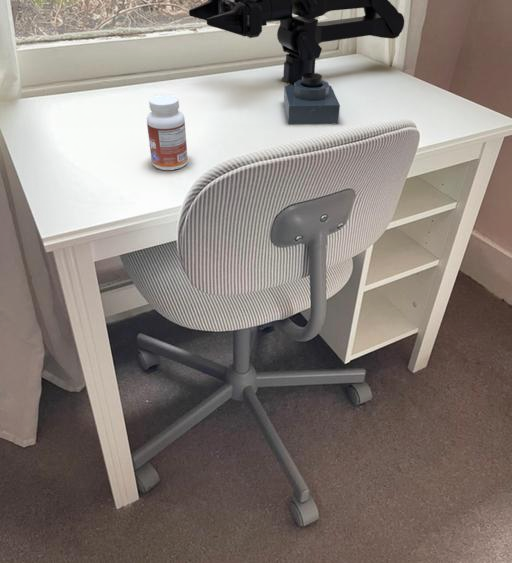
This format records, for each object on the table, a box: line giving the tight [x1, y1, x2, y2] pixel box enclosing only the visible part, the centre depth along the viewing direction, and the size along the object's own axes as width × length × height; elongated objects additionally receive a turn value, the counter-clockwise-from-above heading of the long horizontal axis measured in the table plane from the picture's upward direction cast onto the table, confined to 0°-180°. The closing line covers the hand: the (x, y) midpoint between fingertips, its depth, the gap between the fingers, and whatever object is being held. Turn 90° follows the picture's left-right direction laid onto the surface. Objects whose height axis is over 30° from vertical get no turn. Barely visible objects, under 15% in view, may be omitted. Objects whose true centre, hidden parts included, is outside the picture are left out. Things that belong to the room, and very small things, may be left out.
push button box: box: [283, 79, 341, 125], centre depth 110 cm, size 12×10×6 cm
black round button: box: [302, 72, 323, 88], centre depth 108 cm, size 4×4×2 cm
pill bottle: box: [146, 94, 188, 171], centre depth 89 cm, size 6×6×11 cm
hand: (197, 17), depth 109 cm, fingers open, 9 cm apart
